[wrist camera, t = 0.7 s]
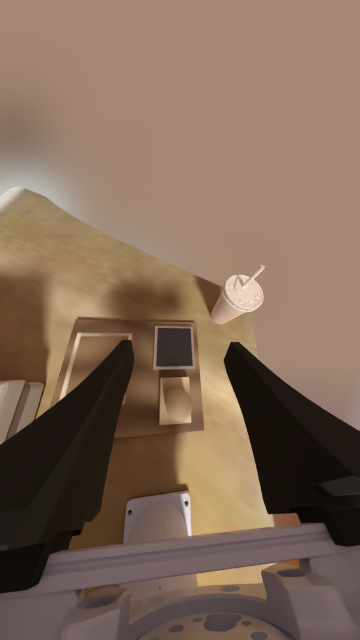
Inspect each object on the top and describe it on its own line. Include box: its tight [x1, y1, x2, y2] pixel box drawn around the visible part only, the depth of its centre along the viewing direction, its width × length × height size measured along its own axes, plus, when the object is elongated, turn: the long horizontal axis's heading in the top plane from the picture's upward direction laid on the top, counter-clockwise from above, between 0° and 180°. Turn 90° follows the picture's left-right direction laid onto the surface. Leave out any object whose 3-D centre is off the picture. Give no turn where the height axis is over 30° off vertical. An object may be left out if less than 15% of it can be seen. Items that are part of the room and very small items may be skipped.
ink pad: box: [153, 326, 195, 370], centre depth 24 cm, size 8×7×1 cm
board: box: [50, 319, 204, 438], centre depth 23 cm, size 18×22×1 cm
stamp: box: [159, 377, 193, 425], centre depth 19 cm, size 6×4×6 cm
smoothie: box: [211, 265, 265, 324], centre depth 23 cm, size 6×6×14 cm
